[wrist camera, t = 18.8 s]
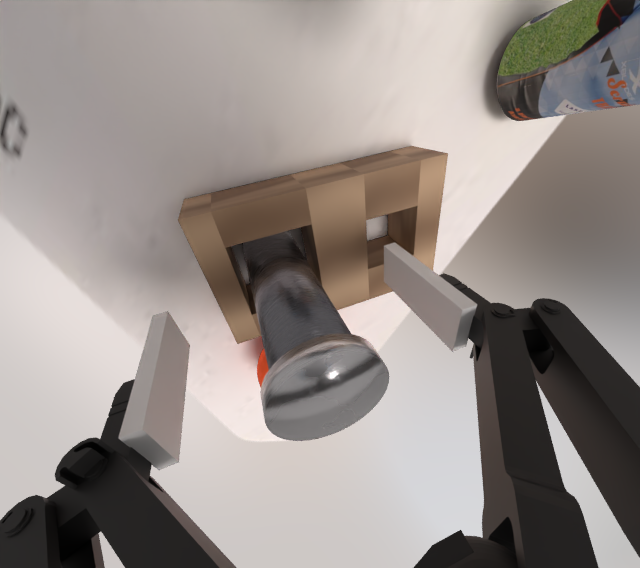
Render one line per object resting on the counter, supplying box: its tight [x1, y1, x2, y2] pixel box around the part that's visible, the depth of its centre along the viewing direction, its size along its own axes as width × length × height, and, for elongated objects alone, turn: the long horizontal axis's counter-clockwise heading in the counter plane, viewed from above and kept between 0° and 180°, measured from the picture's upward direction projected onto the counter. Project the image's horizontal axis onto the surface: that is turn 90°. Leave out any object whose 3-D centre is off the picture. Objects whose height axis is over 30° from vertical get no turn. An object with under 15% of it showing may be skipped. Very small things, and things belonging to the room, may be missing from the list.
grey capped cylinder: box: [243, 231, 389, 441], centre depth 16 cm, size 5×5×14 cm
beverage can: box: [497, 0, 640, 121], centre depth 15 cm, size 6×7×12 cm
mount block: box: [178, 146, 448, 344], centre depth 20 cm, size 10×17×4 cm, turn 99°
